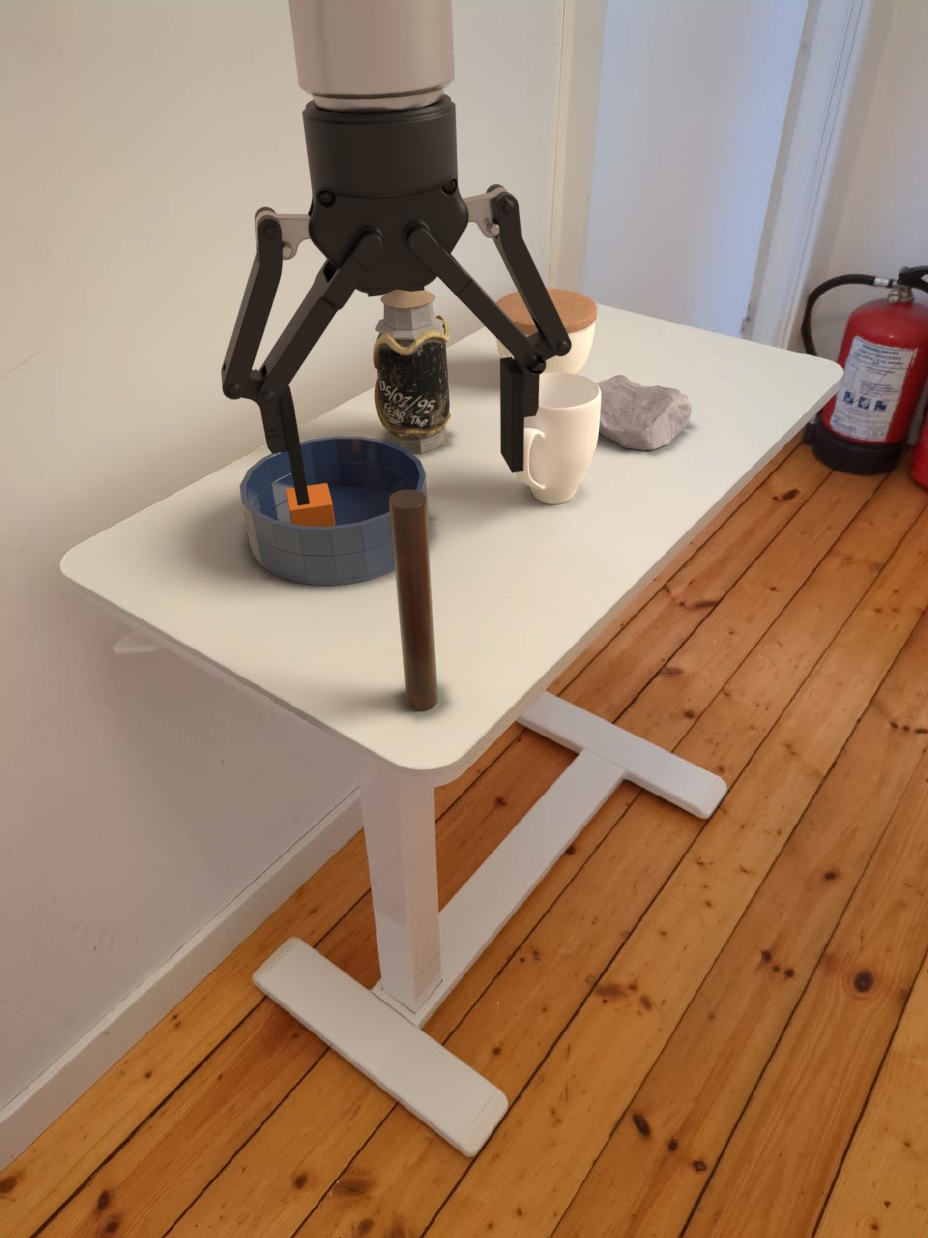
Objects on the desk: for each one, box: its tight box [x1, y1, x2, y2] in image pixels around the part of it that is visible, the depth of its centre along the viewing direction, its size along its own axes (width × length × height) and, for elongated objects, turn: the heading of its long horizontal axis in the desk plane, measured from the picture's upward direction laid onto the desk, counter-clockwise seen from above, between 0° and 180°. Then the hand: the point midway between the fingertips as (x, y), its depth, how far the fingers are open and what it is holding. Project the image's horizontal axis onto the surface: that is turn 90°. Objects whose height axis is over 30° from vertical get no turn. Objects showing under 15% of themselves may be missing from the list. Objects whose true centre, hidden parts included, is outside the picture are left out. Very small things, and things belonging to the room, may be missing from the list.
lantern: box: [372, 289, 452, 454], centre depth 94 cm, size 9×8×25 cm
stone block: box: [596, 374, 692, 451], centre depth 103 cm, size 12×5×10 cm
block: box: [286, 483, 335, 527], centre depth 85 cm, size 4×4×4 cm
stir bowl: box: [239, 435, 430, 586], centre depth 86 cm, size 17×17×6 cm
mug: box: [514, 372, 601, 505], centre depth 87 cm, size 12×8×11 cm
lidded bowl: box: [495, 287, 598, 375], centre depth 111 cm, size 13×13×11 cm
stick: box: [389, 490, 439, 712], centre depth 63 cm, size 2×2×18 cm
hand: (408, 478), depth 57 cm, fingers open, 13 cm apart
